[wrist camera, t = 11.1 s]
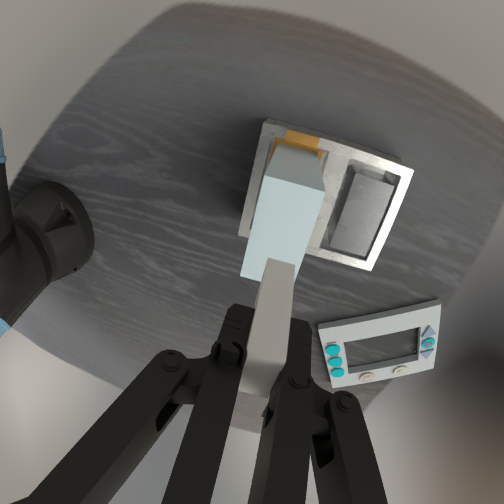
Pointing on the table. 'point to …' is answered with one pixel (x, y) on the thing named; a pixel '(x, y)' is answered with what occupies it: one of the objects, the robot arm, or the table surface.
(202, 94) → the table surface
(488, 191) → the table surface
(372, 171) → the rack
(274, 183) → the block
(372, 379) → the electronic device
